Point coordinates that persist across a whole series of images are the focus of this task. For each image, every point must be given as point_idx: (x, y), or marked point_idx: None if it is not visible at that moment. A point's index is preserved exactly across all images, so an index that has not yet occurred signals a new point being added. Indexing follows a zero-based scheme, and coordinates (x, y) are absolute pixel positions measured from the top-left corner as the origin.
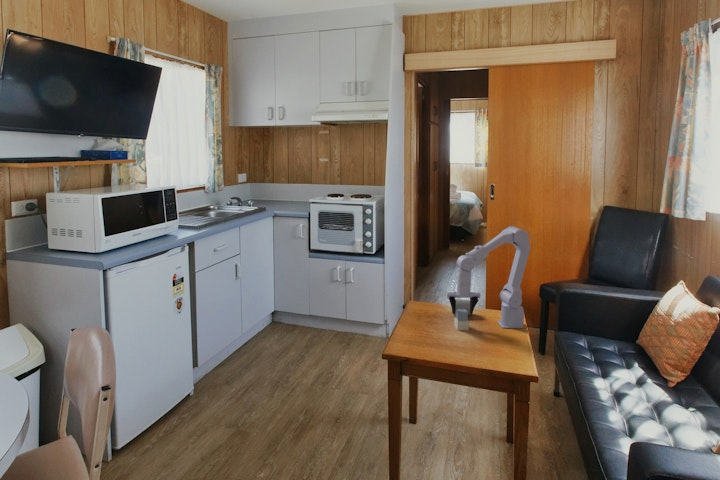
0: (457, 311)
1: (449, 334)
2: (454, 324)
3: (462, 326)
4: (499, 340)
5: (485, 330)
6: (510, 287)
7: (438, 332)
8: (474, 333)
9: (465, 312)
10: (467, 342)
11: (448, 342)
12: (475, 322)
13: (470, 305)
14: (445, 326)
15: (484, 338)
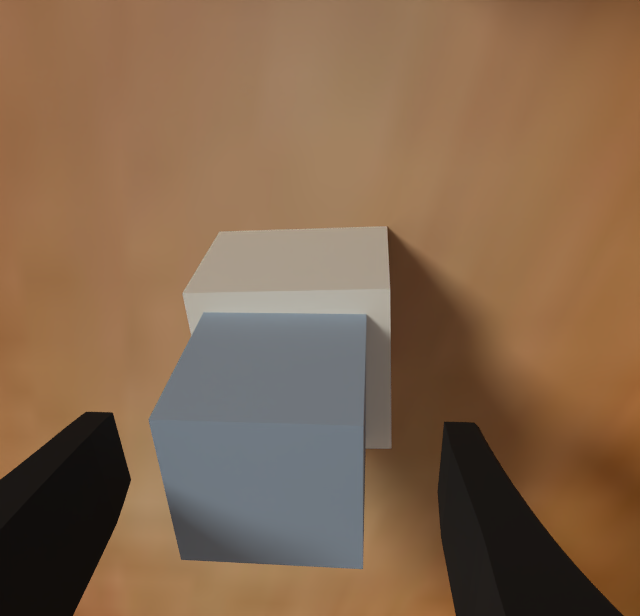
0: (170, 474)
1: (140, 466)
2: (214, 244)
3: None
4: (617, 598)
5: (607, 388)
6: None
7: (21, 419)
8: (425, 457)
9: (314, 565)
10: (292, 607)
11: (127, 596)
12: (617, 78)
13: (478, 568)
14: (93, 252)
15: None
